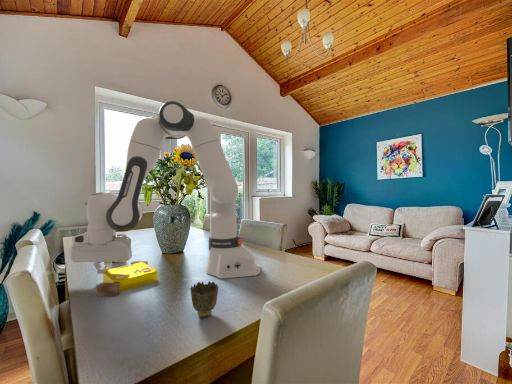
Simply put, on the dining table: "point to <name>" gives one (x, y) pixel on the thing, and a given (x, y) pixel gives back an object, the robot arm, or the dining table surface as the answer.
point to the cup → (204, 298)
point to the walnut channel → (111, 286)
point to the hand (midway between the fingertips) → (102, 273)
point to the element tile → (131, 275)
